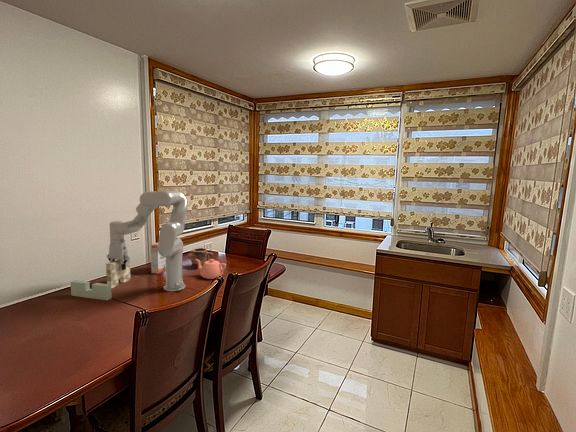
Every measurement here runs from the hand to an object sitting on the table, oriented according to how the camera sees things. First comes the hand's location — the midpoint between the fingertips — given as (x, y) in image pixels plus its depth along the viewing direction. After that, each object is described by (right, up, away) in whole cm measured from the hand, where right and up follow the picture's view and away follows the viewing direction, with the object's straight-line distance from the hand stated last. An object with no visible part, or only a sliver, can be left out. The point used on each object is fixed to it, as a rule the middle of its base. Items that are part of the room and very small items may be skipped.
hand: (118, 268), depth 189 cm
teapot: (+53, -9, +20) cm, 57 cm away
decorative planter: (+40, -6, +39) cm, 57 cm away
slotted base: (-4, -12, -20) cm, 24 cm away
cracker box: (+15, -7, +28) cm, 33 cm away
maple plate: (0, -10, +1) cm, 10 cm away
